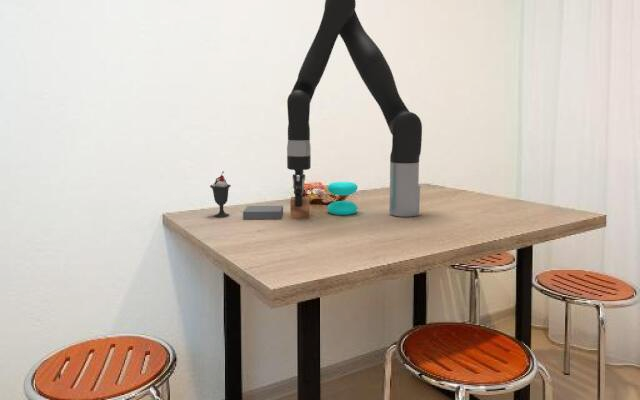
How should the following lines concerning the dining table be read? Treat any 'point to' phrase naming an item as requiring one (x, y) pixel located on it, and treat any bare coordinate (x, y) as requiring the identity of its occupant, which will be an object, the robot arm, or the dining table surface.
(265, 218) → the base
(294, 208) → the cube
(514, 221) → the dining table surface
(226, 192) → the sundae
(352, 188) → the donuts
